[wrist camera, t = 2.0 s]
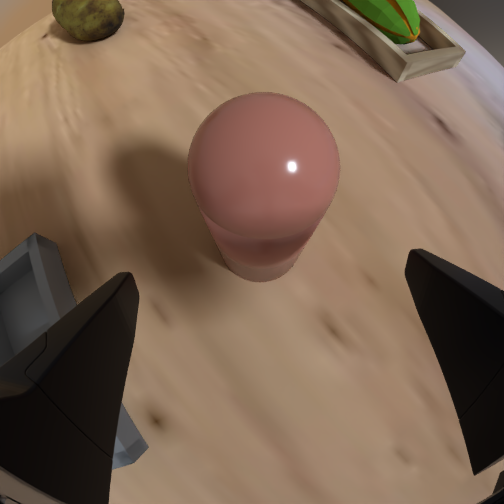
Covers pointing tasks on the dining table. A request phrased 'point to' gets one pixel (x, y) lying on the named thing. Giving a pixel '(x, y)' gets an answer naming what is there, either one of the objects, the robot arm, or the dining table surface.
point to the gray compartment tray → (47, 318)
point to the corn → (390, 17)
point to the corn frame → (384, 49)
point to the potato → (88, 17)
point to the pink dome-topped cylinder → (263, 180)
